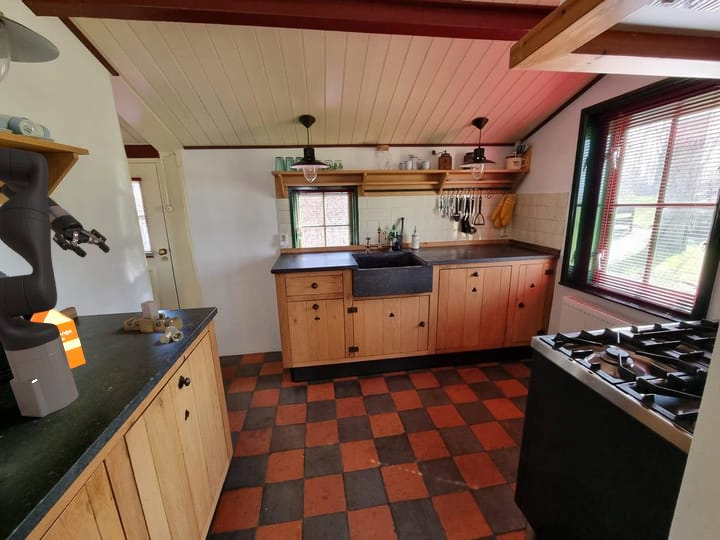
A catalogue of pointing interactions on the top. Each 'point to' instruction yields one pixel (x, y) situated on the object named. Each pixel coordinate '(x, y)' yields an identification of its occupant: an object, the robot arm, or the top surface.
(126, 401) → the top surface
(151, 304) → the square grey block
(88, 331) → the top surface
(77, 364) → the orange juice
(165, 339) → the pipe fitting
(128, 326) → the gold block with rollers
